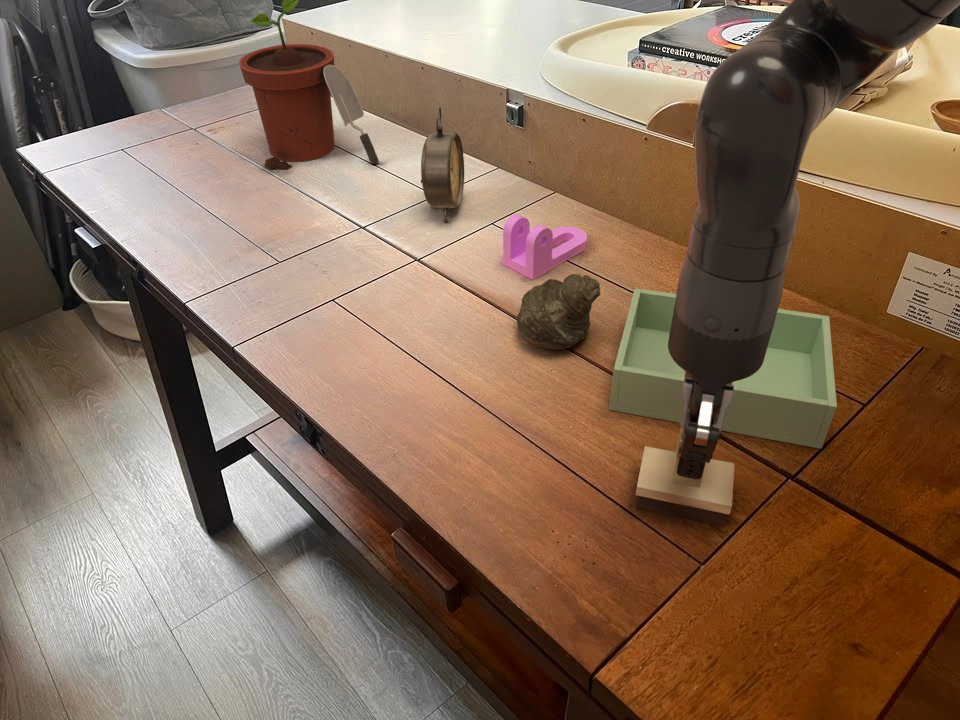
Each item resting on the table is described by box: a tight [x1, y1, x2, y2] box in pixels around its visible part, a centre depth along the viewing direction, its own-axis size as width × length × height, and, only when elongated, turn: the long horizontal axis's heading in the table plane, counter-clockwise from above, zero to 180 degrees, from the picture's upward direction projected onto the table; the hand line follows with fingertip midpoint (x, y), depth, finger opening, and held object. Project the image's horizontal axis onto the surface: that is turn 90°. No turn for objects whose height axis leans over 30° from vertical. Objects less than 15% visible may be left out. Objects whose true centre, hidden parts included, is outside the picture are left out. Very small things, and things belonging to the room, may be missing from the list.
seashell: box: [516, 273, 601, 351], centre depth 90 cm, size 11×12×10 cm
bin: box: [608, 287, 838, 450], centre depth 83 cm, size 22×16×6 cm
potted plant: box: [238, 0, 380, 171], centre depth 128 cm, size 18×22×25 cm
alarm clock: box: [420, 105, 465, 224], centre depth 113 cm, size 11×5×16 cm, turn 171°
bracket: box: [502, 213, 588, 281], centre depth 105 cm, size 13×6×7 cm, turn 134°
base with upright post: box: [635, 408, 736, 527], centre depth 69 cm, size 8×5×10 cm, turn 73°
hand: (690, 461), depth 69 cm, fingers closed on base with upright post, 2 cm apart
